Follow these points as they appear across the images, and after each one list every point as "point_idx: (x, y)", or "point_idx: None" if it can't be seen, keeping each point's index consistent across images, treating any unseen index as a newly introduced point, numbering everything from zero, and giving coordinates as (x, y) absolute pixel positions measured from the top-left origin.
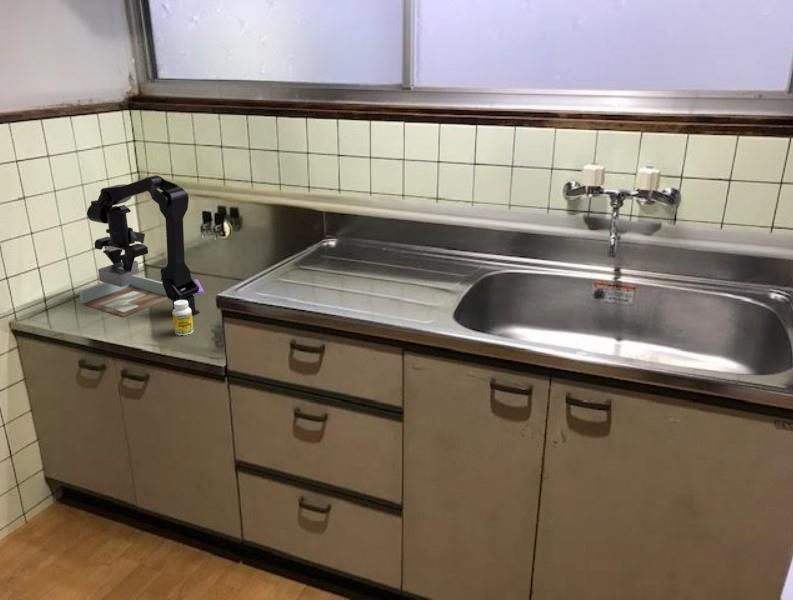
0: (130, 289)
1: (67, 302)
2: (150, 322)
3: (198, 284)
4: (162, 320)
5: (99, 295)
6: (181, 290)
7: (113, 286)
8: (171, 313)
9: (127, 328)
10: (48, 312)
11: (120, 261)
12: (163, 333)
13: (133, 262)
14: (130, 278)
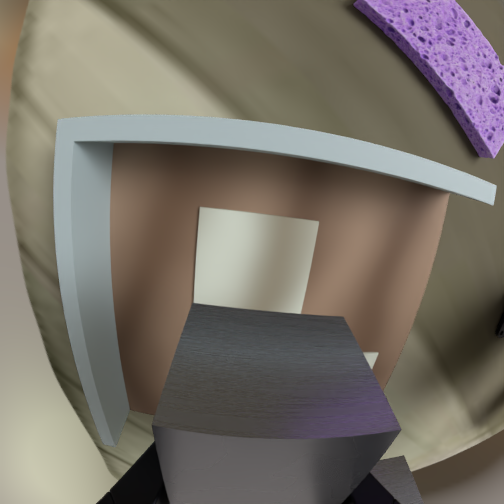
0: (156, 190)
1: (75, 400)
2: (455, 395)
3: (466, 20)
4: (481, 369)
5: (115, 353)
6: (467, 116)
7: (95, 279)
8: (500, 335)
9: (410, 442)
10: (115, 456)
11: (161, 502)
12: (491, 404)
13: (365, 475)
14: (411, 482)
